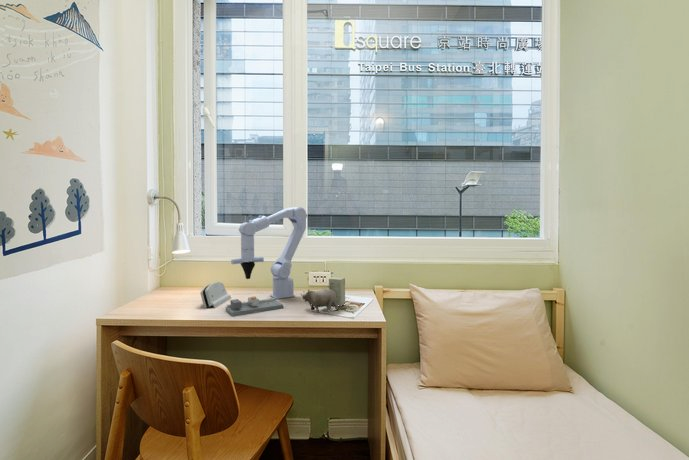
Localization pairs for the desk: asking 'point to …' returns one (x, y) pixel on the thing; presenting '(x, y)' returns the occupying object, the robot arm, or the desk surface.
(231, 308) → the hole board
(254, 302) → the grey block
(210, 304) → the grey upright panel
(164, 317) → the desk surface
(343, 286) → the skincare box
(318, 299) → the grey four-legged figurine
